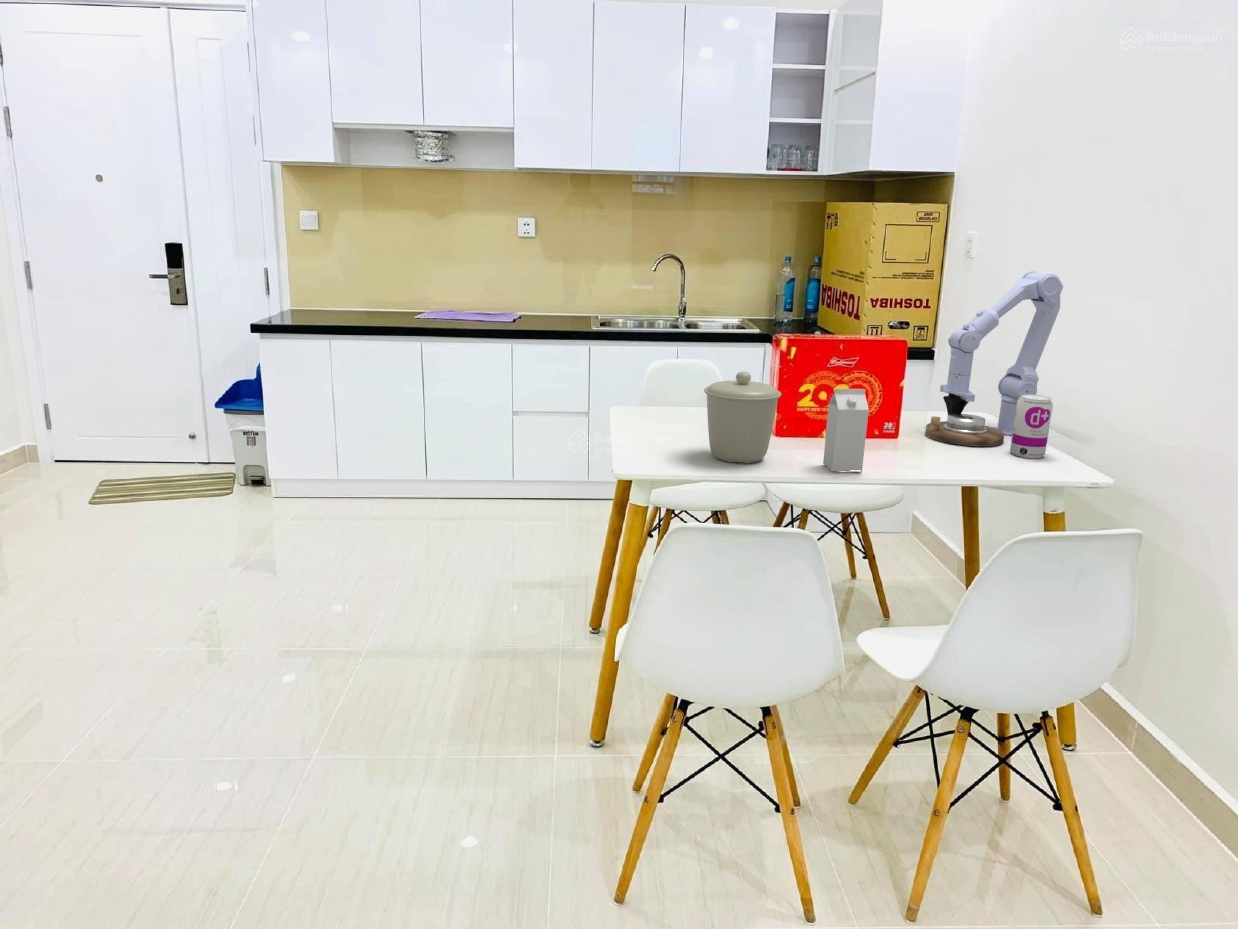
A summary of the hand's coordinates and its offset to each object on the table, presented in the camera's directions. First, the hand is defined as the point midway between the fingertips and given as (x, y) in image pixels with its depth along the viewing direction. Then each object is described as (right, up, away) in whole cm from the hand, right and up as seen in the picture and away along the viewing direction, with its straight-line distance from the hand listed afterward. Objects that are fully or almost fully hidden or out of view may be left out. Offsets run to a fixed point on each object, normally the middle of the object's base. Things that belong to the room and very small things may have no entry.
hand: (953, 422), depth 252 cm
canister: (-64, -10, -33) cm, 73 cm away
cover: (+1, -2, -6) cm, 6 cm away
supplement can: (+11, -10, -21) cm, 25 cm away
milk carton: (-40, -13, -39) cm, 58 cm away
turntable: (+1, -5, -5) cm, 7 cm away
